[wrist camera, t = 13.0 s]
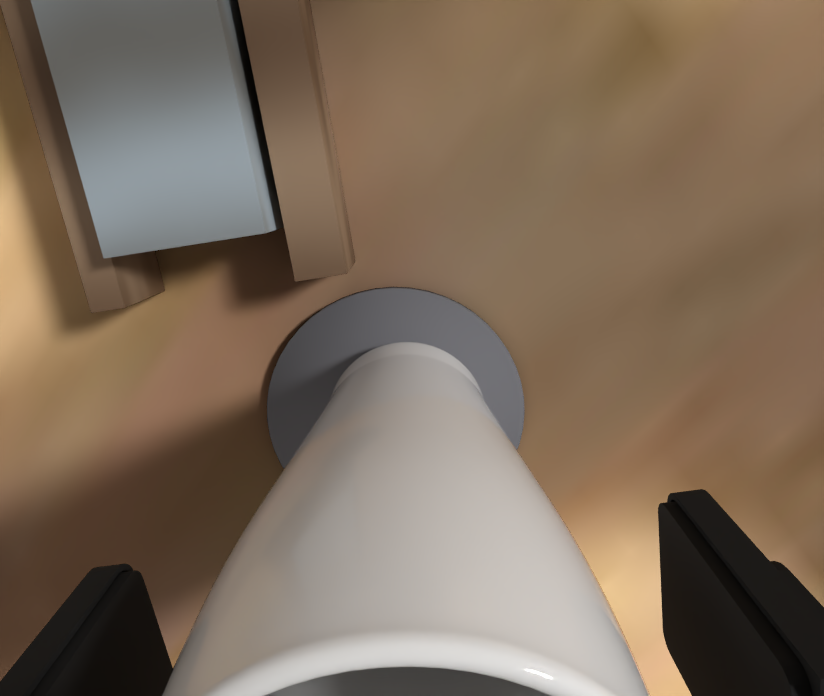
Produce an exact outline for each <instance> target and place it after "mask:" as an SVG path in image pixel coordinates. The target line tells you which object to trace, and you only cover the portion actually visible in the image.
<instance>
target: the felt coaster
mask: <svg viewBox="0 0 824 696" xmlns="http://www.w3.org/2000/svg"><path fill="white" fill-rule="evenodd" d="M397 342H418V343H424V344H428V345H432V346H434V347H437V348H440V349H442V350H444V351H446V352H448V353H449V354H451V355H452V356H454V357H455V358H456V359H458V360H459V361H460V362H461V363H462V364H463V365H465V367H466V368H467V369H468V370H469V371H470V372H471V374H472V375H473V376H474V378H475V379H476V381H477V383H478V385H479V387H480V389H481V391H482V394H483V396H484V399H485V401H486V403H487V405H488V406H489V408H490V409H491V411H492V413H493V414H494V416H495V417H496V419H497V420H498V422H499V423H500V425H501V427H502V428H503V430H504V431H505V433H506V434H507V436H508V437H509V439H510V440H511V442H512V443H513V445H514V446H515V448H516V449H518V446H519V443H520V439H521V435H522V430H523V422H524V396H523V391H522V385H521V381H520V378H519V375H518V372H517V369H516V366H515V364H514V362H513V360H512V358H511V356H510V354H509V352H508V350H507V349H506V347H505V346H504V344H503V343H502V341H501V340H500V338H499V337H498V335H497V334H496V333H495V332H494V331H493V330H492V329H491V328H490V326H489V325H488V324H487V323H486V322H485V321H483V320H482V319H481V318H480V317H479V316H477V315H476V314H475V313H474V312H472V311H471V310H469V309H468V308H466V307H465V306H463V305H461V304H460V303H458V302H456V301H454V300H452V299H449V298H447V297H445V296H443V295H439V294H436V293H433V292H430V291H426V290H420V289H415V288H406V287H386V288H375V289H370V290H366V291H361V292H357V293H354V294H352V295H349V296H346V297H343V298H341V299H339V300H337V301H335V302H333V303H331V304H330V305H328V306H326V307H325V308H323V309H322V310H320V311H319V312H318V313H316V314H315V315H313V316H312V317H311V318H310V319H309V320H308V321H307V322H306V323H305V324H304V325H302V326H301V327H300V329H299V330H298V331H297V332H296V334H295V335H294V336H293V337H292V338H291V340H290V341H289V342H288V344H287V346H286V347H285V349H284V350H283V352H282V354H281V355H280V357H279V359H278V362H277V364H276V366H275V369H274V371H273V374H272V378H271V382H270V386H269V391H268V400H267V420H268V427H269V433H270V437H271V440H272V444H273V447H274V450H275V452H276V454H277V457H278V459H279V461H280V463H281V465H282V467H283V468H285V467H286V465H287V464H288V462H289V461H290V459H291V458H292V456H293V455H294V453H295V452H296V450H297V449H298V447H299V446H300V444H301V443H302V441H303V440H304V438H305V437H306V435H307V434H308V432H309V431H310V429H311V428H312V426H313V425H314V423H315V422H316V420H317V419H318V417H319V416H320V414H321V412H322V411H323V409H324V408H325V406H326V405H327V403H328V401H329V399H330V396H331V394H332V391H333V389H334V387H335V385H336V383H337V381H338V380H339V378H340V376H341V375H342V374H343V372H344V371H345V370H346V369H347V368H348V367H349V366H350V365H351V364H352V363H353V362H354V361H355V360H356V359H357V358H359V357H360V356H362V355H363V354H365V353H367V352H368V351H370V350H372V349H375V348H377V347H380V346H383V345H386V344H391V343H397Z"/></svg>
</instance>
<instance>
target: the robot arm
mask: <svg viewBox="0 0 824 696" xmlns="http://www.w3.org/2000/svg"><path fill="white" fill-rule="evenodd" d="M658 518H659V543H660V568H661V593H662V618H663V633H664V638H665V641H666V645H667V648H668V650H669V652H670V654H671V656H672V658H673V660H674V662H675V664H676V666H677V668H678V670H679V672H680V673H681V675H682V677H683V679H684V681H685V683H686V685H687V687H688V689H689V691H690V693H691V695H692V696H824V607H823V606H822V605H821V604H820V603H819V602H818V601H817V600H816V599H815V598H814V597H813V595H812V594H811V593H810V592H809V591H808V590H807V589H806V588H805V587H804V586H803V585H802V584H801V582H800V581H799V580H798V579H797V578H796V577H795V576H794V575H793V574H792V573H791V572H790V571H789V570H788V569H787V568H786V567H785V566H784V565H783V564H781V563H779V562H776V561H771V562H770V561H769V560H768V559H767V558H766V557H765V556H764V554H763V553H762V552H761V551H760V550H759V549H758V548H757V547H756V546H755V544H754V543H753V542H752V541H751V540H750V539H749V538H748V537H747V535H746V534H745V533H744V532H743V531H742V530H741V529H740V528H739V527H738V525H737V524H736V523H735V522H734V521H733V520H732V519H731V518H730V517H729V515H728V514H727V513H726V512H725V511H724V510H723V509H722V508H721V507H720V505H719V504H718V503H717V502H716V501H715V500H714V499H713V498H712V496H711V495H710V494H709V493H708V492H707V491H705V490H702V489H700V490H693V491H685V492H677V493H671V494H670V495H669V496H668V501H667V503H660V504H659V507H658ZM172 670H173V668H172V665H171V662H170V659H169V656H168V653H167V650H166V646H165V643H164V640H163V637H162V634H161V631H160V628H159V625H158V622H157V619H156V616H155V613H154V610H153V607H152V604H151V601H150V598H149V595H148V592H147V589H146V586H145V583H144V580H143V577H142V575H141V573H140V572H139V571H133V569H132V567H131V566H130V565H128V564H119V565H111V566H103V567H96V568H93V569H92V570H91V571H90V572H89V573H88V574H87V575H86V576H85V577H84V579H83V580H82V581H81V582H80V584H79V585H78V586H77V587H76V589H75V590H74V591H73V592H72V594H71V595H70V596H69V597H68V599H67V600H66V601H65V602H64V603H63V605H62V606H61V607H60V608H59V610H58V611H57V612H56V613H55V615H54V616H53V617H52V618H51V620H50V621H49V622H48V623H47V624H46V626H45V627H44V628H43V629H42V631H41V632H40V633H39V634H38V636H37V637H36V638H35V639H34V641H33V642H32V643H31V644H30V646H29V647H28V648H27V649H26V650H25V652H24V653H23V654H22V655H21V657H20V658H19V659H18V660H17V662H16V663H15V664H14V665H13V667H12V668H11V669H10V670H9V671H8V673H7V674H6V675H5V676H4V678H3V679H2V680H1V681H0V696H162V693H163V691H164V689H165V686H166V684H167V682H168V679H169V677H170V675H171V672H172Z"/></svg>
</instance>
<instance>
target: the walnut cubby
mask: <svg viewBox="0 0 824 696" xmlns="http://www.w3.org/2000/svg"><path fill="white" fill-rule="evenodd" d="M0 6H1V9H2V12H3V16H4V19H5V23H6V26H7V29H8V33H9V36H10V39H11V43H12V46H13V50H14V53H15V56H16V60H17V63H18V67H19V70H20V73H21V77H22V80H23V84H24V87H25V90H26V94H27V97H28V100H29V104H30V107H31V111H32V114H33V117H34V121H35V124H36V128H37V131H38V134H39V138H40V141H41V145H42V148H43V151H44V155H45V158H46V161H47V165H48V168H49V172H50V175H51V178H52V182H53V185H54V189H55V192H56V195H57V199H58V202H59V205H60V209H61V212H62V216H63V219H64V222H65V226H66V229H67V233H68V236H69V239H70V243H71V246H72V250H73V253H74V256H75V260H76V263H77V266H78V270H79V273H80V277H81V280H82V283H83V287H84V290H85V294H86V297H87V300H88V304H89V307H90V311H91V313H94V312H101V311H107V310H114V309H120V308H126V307H128V306H130V305H133V304H135V303H137V302H140V301H142V300H144V299H147V298H149V297H151V296H154V295H156V294H158V293H161V292H163V291H165V288H164V285H163V281H162V277H161V273H160V269H159V265H158V262H157V258H156V254H155V250H162V249H168V248H175V247H181V246H187V245H194V244H200V243H207V242H213V241H219V240H226V239H232V238H239V237H245V236H251V235H258V234H264V233H268V232H271V231H274V230H277V229H280V228H283V227H284V229H285V234H286V239H287V244H288V249H289V254H290V259H291V263H292V268H293V273H294V278H295V282H296V281H303V280H309V279H316V278H322V277H329V276H335V275H342V274H347V273H348V271H349V270H350V268H351V267H352V266H353V264H354V263H355V256H354V250H353V245H352V239H351V233H350V228H349V222H348V216H347V210H346V205H345V199H344V193H343V188H342V182H341V176H340V171H339V165H338V159H337V154H336V148H335V142H334V136H333V131H332V125H331V119H330V114H329V108H328V102H327V97H326V91H325V85H324V80H323V74H322V68H321V63H320V57H319V51H318V45H317V40H316V34H315V28H314V23H313V17H312V11H311V6H310V0H0Z"/></svg>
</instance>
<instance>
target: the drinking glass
mask: <svg viewBox="0 0 824 696" xmlns="http://www.w3.org/2000/svg"><path fill="white" fill-rule="evenodd" d="M162 696H650V693H649V691H648V689H647V686H646V684H645V682H644V679H643V677H642V675H641V672H640V670H639V668H638V665H637V663H636V661H635V658H634V656H633V654H632V651H631V649H630V647H629V645H628V642H627V640H626V638H625V636H624V634H623V631H622V629H621V627H620V625H619V623H618V621H617V619H616V616H615V614H614V612H613V610H612V608H611V606H610V604H609V602H608V600H607V598H606V596H605V594H604V592H603V590H602V588H601V586H600V584H599V582H598V580H597V578H596V576H595V575H594V573H593V571H592V569H591V567H590V565H589V564H588V562H587V560H586V558H585V556H584V555H583V553H582V551H581V549H580V548H579V546H578V544H577V542H576V541H575V539H574V537H573V536H572V534H571V532H570V531H569V529H568V527H567V526H566V524H565V522H564V521H563V519H562V518H561V516H560V514H559V513H558V511H557V510H556V508H555V507H554V505H553V504H552V502H551V500H550V499H549V497H548V496H547V494H546V493H545V491H544V490H543V488H542V487H541V485H540V484H539V482H538V481H537V479H536V478H535V476H534V475H533V473H532V472H531V470H530V469H529V467H528V466H527V464H526V463H525V461H524V460H523V458H522V457H521V455H520V454H519V452H518V451H517V449H516V448H515V446H514V445H513V443H512V442H511V440H510V439H509V437H508V436H507V434H506V433H505V431H504V430H503V428H502V427H501V425H500V423H499V422H498V420H497V419H496V417H495V416H494V414H493V413H492V411H491V409H490V408H489V406H488V405H487V403H486V401H485V399H484V396H483V394H482V391H481V389H480V387H479V385H478V383H477V381H476V379H475V378H474V376H473V375H472V374H471V372H470V371H469V370H468V369H467V368H466V367H465V365H463V364H462V363H461V362H460V361H459V360H458V359H456V358H455V357H454V356H452V355H451V354H449V353H448V352H446V351H444V350H442V349H440V348H437V347H434V346H432V345H428V344H424V343H418V342H397V343H391V344H386V345H383V346H380V347H377V348H375V349H372V350H370V351H368V352H367V353H365V354H363V355H362V356H360V357H359V358H357V359H356V360H355V361H354V362H353V363H352V364H351V365H350V366H349V367H348V368H347V369H346V370H345V371H344V372H343V374H342V375H341V376H340V378H339V380H338V381H337V383H336V385H335V387H334V389H333V391H332V394H331V396H330V399H329V401H328V403H327V405H326V406H325V408H324V409H323V411H322V412H321V414H320V416H319V417H318V419H317V420H316V422H315V423H314V425H313V426H312V428H311V429H310V431H309V432H308V434H307V435H306V437H305V438H304V440H303V441H302V443H301V444H300V446H299V447H298V449H297V450H296V452H295V453H294V455H293V456H292V458H291V459H290V461H289V462H288V464H287V465H286V467H285V468H284V470H283V471H282V473H281V474H280V476H279V477H278V479H277V480H276V482H275V483H274V485H273V486H272V488H271V489H270V491H269V492H268V494H267V495H266V497H265V498H264V500H263V501H262V503H261V504H260V506H259V507H258V509H257V510H256V512H255V514H254V515H253V517H252V518H251V520H250V521H249V523H248V525H247V526H246V528H245V529H244V531H243V533H242V534H241V536H240V538H239V539H238V541H237V543H236V544H235V546H234V548H233V549H232V551H231V553H230V554H229V556H228V558H227V560H226V562H225V563H224V565H223V567H222V569H221V571H220V573H219V574H218V576H217V578H216V580H215V582H214V584H213V586H212V588H211V590H210V592H209V594H208V596H207V598H206V600H205V602H204V604H203V606H202V608H201V610H200V612H199V614H198V616H197V618H196V620H195V623H194V625H193V627H192V629H191V631H190V633H189V635H188V637H187V639H186V642H185V644H184V646H183V648H182V650H181V652H180V655H179V657H178V659H177V661H176V663H175V666H174V668H173V670H172V672H171V675H170V677H169V679H168V682H167V684H166V686H165V689H164V691H163V693H162Z"/></svg>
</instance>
